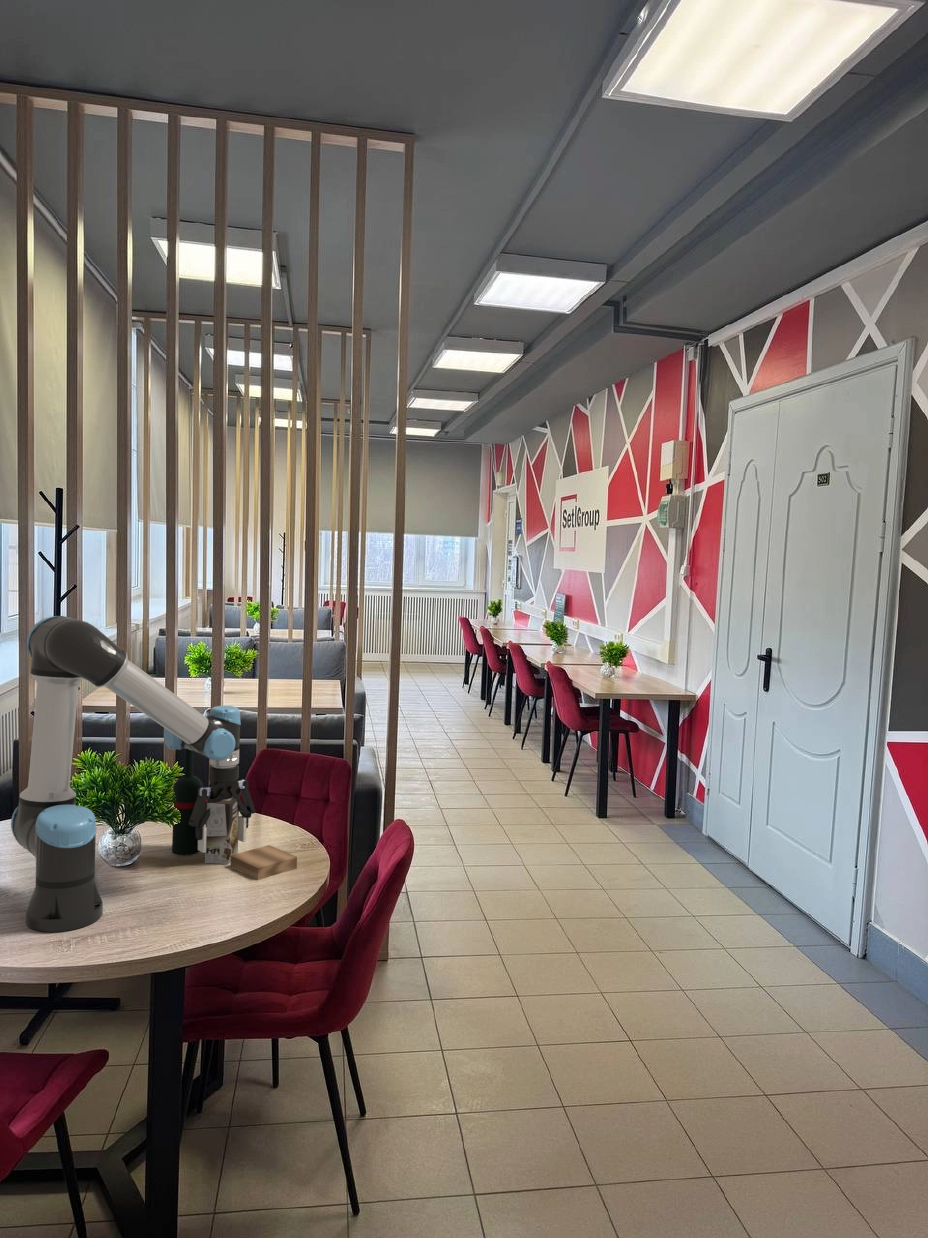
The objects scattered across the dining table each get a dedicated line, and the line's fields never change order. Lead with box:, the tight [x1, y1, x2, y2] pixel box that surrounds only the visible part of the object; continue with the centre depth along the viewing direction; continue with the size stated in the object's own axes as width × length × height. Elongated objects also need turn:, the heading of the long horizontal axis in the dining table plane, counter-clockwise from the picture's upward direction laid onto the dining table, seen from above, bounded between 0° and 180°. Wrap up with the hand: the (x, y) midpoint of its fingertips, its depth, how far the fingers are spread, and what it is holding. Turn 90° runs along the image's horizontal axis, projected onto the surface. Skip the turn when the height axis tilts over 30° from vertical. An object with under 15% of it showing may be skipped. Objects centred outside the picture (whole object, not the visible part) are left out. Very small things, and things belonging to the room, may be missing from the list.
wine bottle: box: [171, 748, 207, 857], centre depth 226 cm, size 8×10×30 cm
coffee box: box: [204, 794, 240, 865], centre depth 222 cm, size 9×6×16 cm
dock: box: [229, 844, 298, 881], centre depth 217 cm, size 12×12×3 cm
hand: (222, 846), depth 222 cm, fingers open, 11 cm apart
